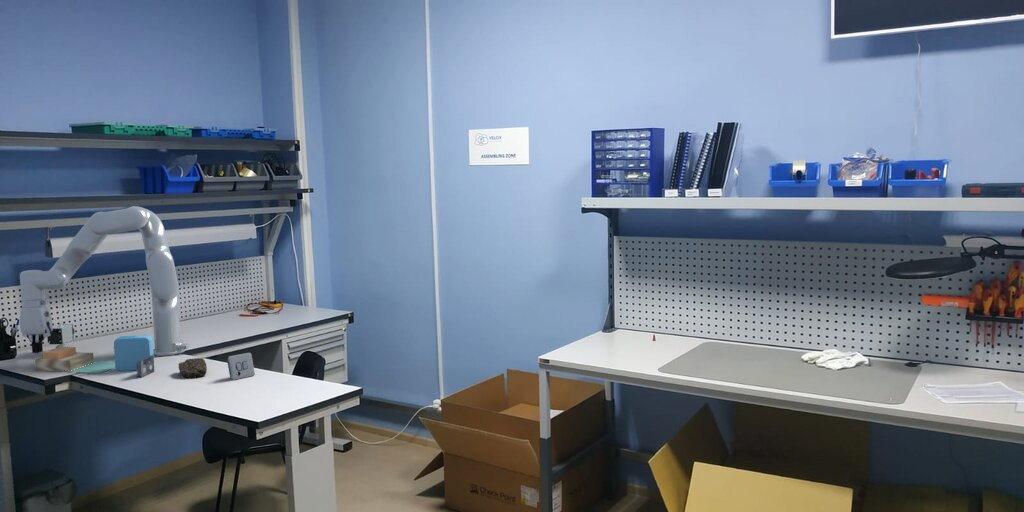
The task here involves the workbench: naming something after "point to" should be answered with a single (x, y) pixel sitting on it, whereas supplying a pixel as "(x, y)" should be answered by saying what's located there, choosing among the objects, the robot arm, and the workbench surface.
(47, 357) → the orange sponge
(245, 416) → the workbench surface
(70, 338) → the pneumatic valve
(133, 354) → the data package
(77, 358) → the deck
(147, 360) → the mini dv tape
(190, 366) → the brown rock
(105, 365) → the mat
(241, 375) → the electrical switch
